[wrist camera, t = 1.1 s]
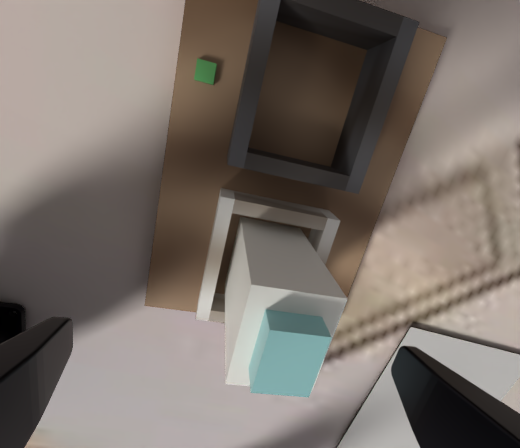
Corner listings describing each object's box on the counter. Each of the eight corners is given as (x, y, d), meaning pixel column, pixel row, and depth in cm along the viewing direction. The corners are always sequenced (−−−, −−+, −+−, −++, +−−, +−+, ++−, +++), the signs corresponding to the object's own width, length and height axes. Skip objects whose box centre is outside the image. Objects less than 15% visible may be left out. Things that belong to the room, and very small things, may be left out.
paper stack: (595, 370, 30) (603, 375, 29) (463, 519, 37) (467, 527, 37) (406, 321, 25) (411, 327, 24) (294, 506, 32) (296, 514, 31)
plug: (280, 293, 21) (319, 416, 12) (224, 284, 20) (225, 410, 12) (300, 228, 19) (360, 317, 11) (240, 216, 19) (254, 303, 10)
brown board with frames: (330, 321, 24) (350, 360, 20) (148, 297, 21) (131, 336, 17) (434, 41, 17) (492, 21, 14) (194, -42, 15) (184, -95, 11)
